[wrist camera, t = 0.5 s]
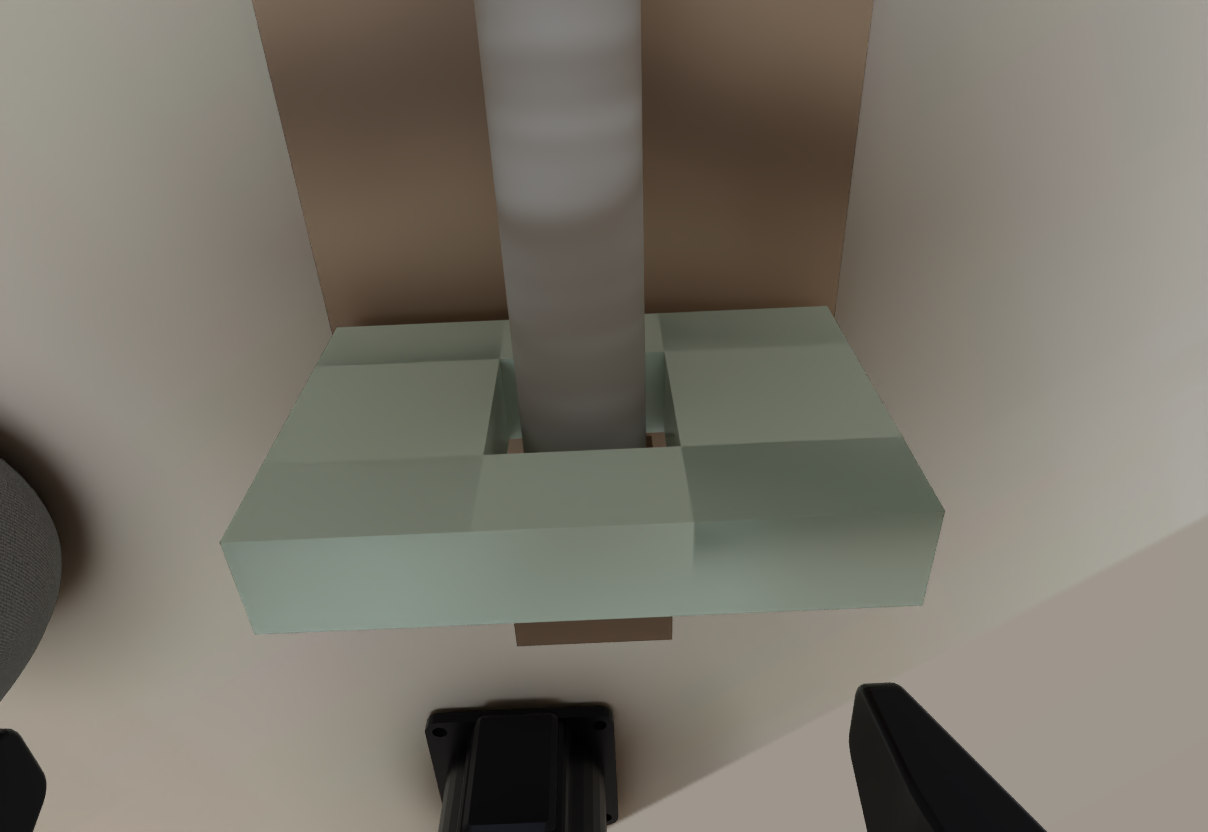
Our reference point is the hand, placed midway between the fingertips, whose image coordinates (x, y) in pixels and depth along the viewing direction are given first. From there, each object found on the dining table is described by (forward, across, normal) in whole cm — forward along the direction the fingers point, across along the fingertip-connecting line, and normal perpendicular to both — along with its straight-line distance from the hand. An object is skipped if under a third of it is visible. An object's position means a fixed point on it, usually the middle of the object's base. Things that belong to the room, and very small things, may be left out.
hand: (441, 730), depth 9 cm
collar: (+11, -2, +1) cm, 11 cm away
